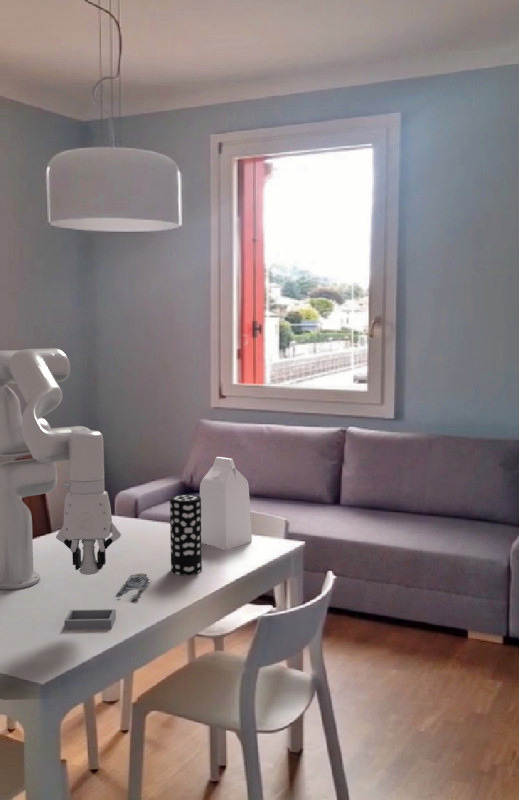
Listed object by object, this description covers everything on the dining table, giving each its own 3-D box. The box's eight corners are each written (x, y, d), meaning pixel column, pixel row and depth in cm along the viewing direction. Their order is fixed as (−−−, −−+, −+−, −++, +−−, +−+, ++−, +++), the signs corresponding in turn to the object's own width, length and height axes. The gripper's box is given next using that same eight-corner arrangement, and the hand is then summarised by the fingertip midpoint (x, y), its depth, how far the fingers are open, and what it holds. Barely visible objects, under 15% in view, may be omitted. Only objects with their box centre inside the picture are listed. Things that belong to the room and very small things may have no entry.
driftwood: (131, 576, 216) (131, 569, 216) (156, 577, 215) (156, 569, 215) (110, 604, 196) (109, 596, 195) (137, 605, 195) (137, 596, 195)
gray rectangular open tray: (64, 629, 177) (64, 620, 177) (70, 618, 184) (70, 609, 184) (111, 628, 178) (111, 620, 178) (115, 617, 184) (115, 609, 184)
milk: (252, 541, 248) (251, 457, 245) (226, 549, 239) (225, 462, 237) (223, 534, 256) (222, 453, 253) (197, 542, 247) (196, 458, 244)
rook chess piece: (79, 569, 181) (77, 534, 181) (99, 568, 182) (98, 533, 182) (79, 575, 177) (78, 540, 176) (100, 574, 178) (99, 538, 177)
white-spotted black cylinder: (182, 564, 225) (181, 493, 223) (207, 568, 221) (206, 496, 219) (164, 572, 218) (163, 499, 216) (190, 577, 214) (189, 502, 212)
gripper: (44, 490, 174) (47, 573, 176) (123, 489, 174) (125, 572, 176) (52, 484, 181) (55, 563, 183) (127, 483, 182) (129, 562, 184)
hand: (89, 567), depth 180 cm, fingers closed on rook chess piece, 4 cm apart
